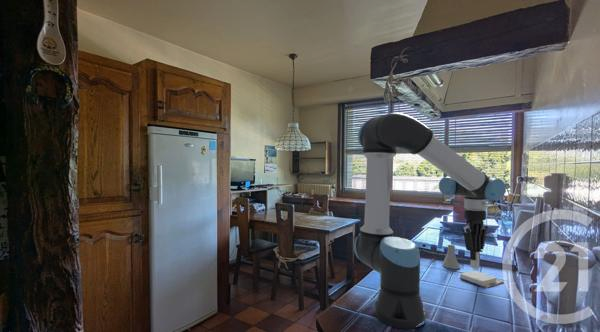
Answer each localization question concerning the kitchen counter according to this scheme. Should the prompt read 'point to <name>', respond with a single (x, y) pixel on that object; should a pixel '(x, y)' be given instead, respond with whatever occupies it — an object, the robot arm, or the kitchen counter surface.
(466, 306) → the kitchen counter surface
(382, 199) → the robot arm
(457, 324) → the kitchen counter surface
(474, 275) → the tile
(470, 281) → the board
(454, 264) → the flask
